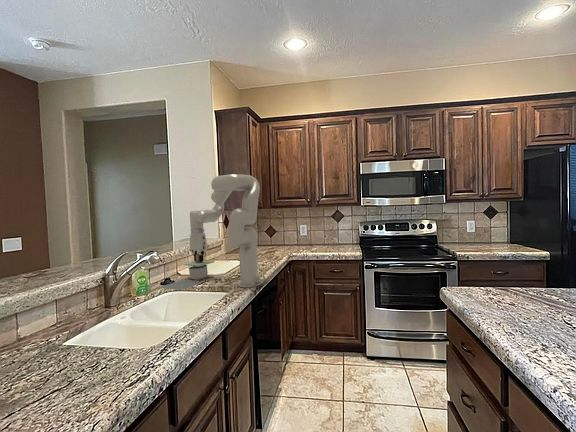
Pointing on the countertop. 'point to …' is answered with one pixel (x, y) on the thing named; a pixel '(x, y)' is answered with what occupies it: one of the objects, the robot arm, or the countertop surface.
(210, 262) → the lid
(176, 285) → the mat
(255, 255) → the robot arm
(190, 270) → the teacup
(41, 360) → the countertop surface
